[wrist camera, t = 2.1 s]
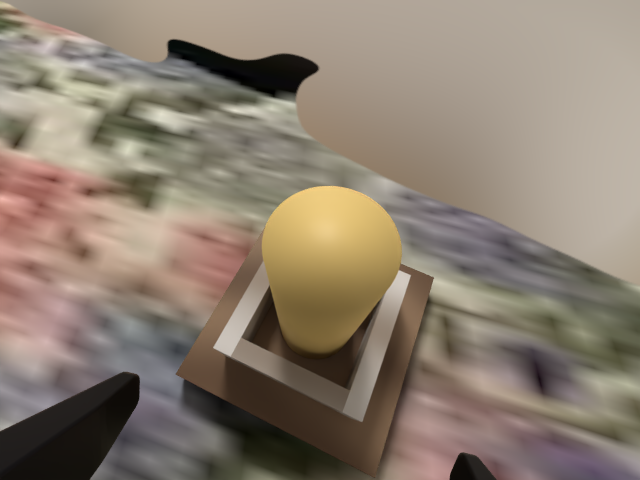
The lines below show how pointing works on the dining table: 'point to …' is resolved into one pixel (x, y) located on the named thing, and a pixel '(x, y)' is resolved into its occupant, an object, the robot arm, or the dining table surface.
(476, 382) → the dining table surface
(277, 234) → the post
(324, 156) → the dining table surface
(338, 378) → the stand
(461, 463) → the robot arm
